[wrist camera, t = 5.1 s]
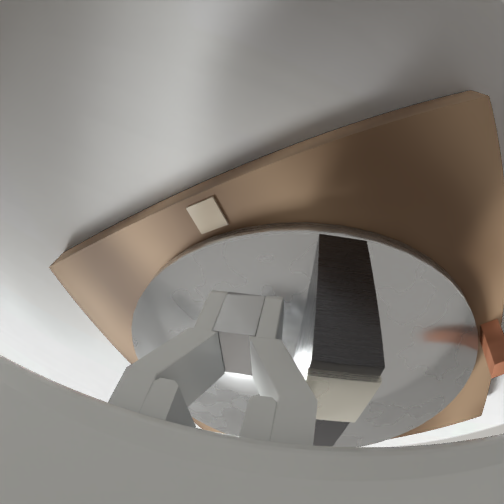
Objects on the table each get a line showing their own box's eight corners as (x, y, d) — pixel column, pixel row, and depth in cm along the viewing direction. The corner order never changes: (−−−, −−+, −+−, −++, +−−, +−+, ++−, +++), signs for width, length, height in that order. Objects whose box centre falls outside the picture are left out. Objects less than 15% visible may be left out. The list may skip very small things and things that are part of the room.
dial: (394, 447, 20) (393, 513, 15) (166, 414, 23) (142, 477, 18) (535, 261, 10) (595, 367, 5) (104, 196, 12) (5, 288, 7)
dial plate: (232, 436, 27) (222, 472, 23) (63, 252, 17) (23, 294, 14) (477, 399, 18) (486, 443, 15) (470, 90, 8) (529, 110, 5)
